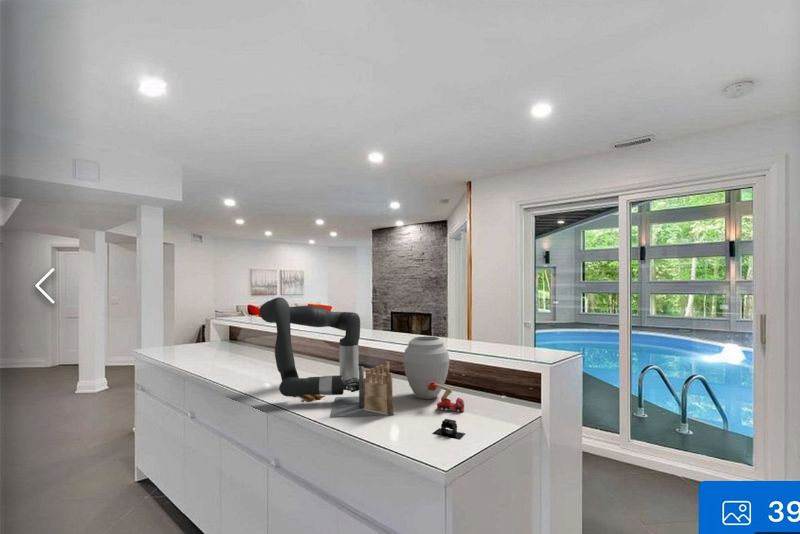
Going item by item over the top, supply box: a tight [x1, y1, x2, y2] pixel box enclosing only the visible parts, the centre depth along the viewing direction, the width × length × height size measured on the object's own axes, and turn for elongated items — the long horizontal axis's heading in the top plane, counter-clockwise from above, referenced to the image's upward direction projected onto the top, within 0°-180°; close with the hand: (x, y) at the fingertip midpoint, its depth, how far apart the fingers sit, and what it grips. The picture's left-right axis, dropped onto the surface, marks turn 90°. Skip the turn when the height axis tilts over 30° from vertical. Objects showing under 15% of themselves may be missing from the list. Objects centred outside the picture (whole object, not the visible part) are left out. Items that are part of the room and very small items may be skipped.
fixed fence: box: [358, 365, 394, 417], centre depth 148 cm, size 15×2×16 cm, turn 59°
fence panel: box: [364, 360, 390, 406], centre depth 159 cm, size 16×2×14 cm, turn 146°
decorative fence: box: [292, 395, 326, 403], centre depth 172 cm, size 25×2×10 cm
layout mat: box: [330, 395, 395, 418], centre depth 154 cm, size 24×23×1 cm
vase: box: [402, 336, 450, 400], centre depth 166 cm, size 20×20×24 cm
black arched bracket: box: [431, 418, 466, 441], centre depth 126 cm, size 12×7×5 cm, turn 60°
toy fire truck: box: [428, 382, 465, 413], centre depth 149 cm, size 3×14×10 cm, turn 71°
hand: (374, 384), depth 160 cm, fingers closed
